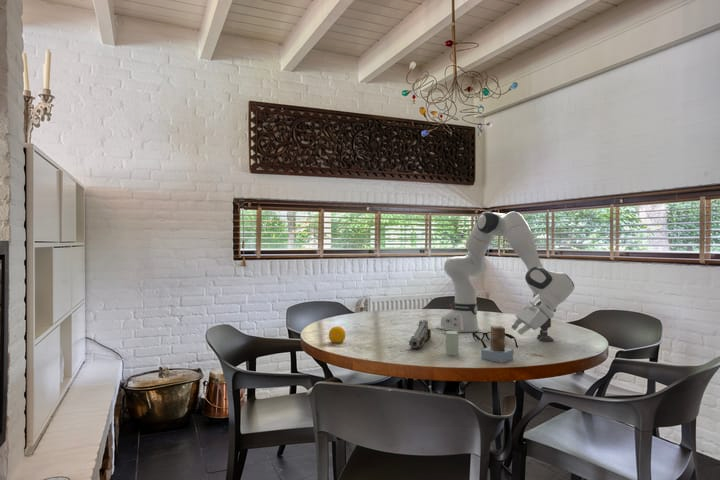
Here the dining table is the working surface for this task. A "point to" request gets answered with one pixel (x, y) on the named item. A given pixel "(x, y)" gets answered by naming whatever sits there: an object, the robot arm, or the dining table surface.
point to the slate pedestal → (497, 355)
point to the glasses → (490, 339)
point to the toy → (420, 335)
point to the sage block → (451, 342)
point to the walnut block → (497, 338)
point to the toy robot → (545, 331)
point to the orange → (337, 335)
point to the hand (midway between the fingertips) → (515, 330)
